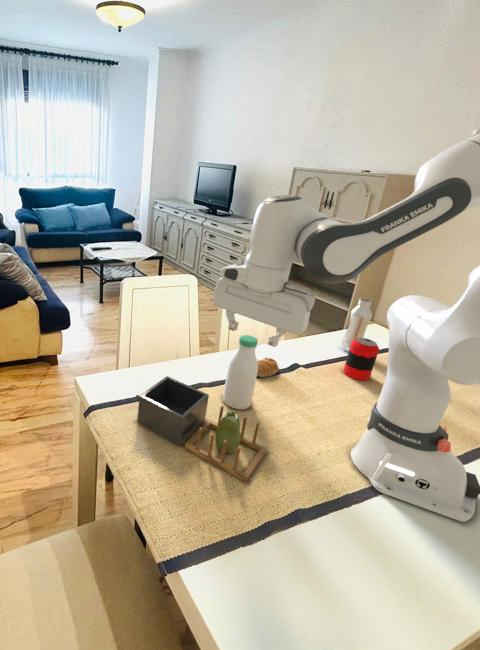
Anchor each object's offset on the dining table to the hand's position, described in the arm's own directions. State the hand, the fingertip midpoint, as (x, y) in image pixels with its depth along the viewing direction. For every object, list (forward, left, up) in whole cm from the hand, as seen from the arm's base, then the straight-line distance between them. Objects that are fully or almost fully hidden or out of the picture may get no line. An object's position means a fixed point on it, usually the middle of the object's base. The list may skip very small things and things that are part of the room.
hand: (251, 337), depth 84 cm
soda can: (-18, -57, -28) cm, 66 cm away
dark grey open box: (+14, +5, -28) cm, 32 cm away
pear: (-1, +5, -28) cm, 28 cm away
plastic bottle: (-13, -75, -28) cm, 81 cm away
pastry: (+5, -37, -28) cm, 47 cm away
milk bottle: (+5, -15, -28) cm, 32 cm away
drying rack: (-1, +5, -28) cm, 28 cm away
